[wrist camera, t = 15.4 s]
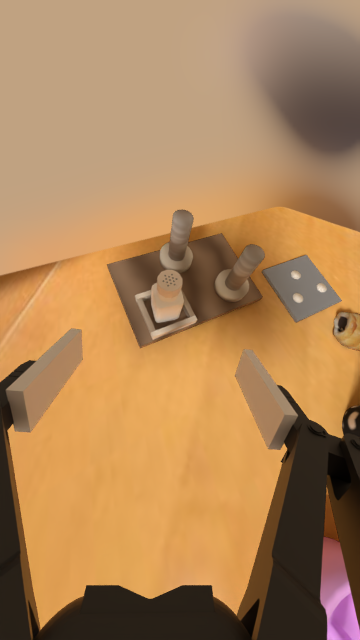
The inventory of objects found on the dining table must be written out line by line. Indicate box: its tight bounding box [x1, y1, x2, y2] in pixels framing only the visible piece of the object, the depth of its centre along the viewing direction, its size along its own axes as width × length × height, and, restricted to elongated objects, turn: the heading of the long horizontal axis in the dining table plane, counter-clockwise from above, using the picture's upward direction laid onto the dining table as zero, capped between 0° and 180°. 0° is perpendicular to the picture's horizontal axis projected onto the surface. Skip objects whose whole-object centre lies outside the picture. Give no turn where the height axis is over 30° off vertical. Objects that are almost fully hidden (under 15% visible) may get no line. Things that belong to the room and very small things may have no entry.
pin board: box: [107, 210, 265, 348], centre depth 32 cm, size 24×16×11 cm, turn 115°
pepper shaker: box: [151, 270, 184, 323], centre depth 29 cm, size 4×4×10 cm
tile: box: [262, 255, 342, 322], centre depth 40 cm, size 12×12×1 cm
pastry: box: [334, 312, 360, 351], centre depth 37 cm, size 9×7×4 cm
